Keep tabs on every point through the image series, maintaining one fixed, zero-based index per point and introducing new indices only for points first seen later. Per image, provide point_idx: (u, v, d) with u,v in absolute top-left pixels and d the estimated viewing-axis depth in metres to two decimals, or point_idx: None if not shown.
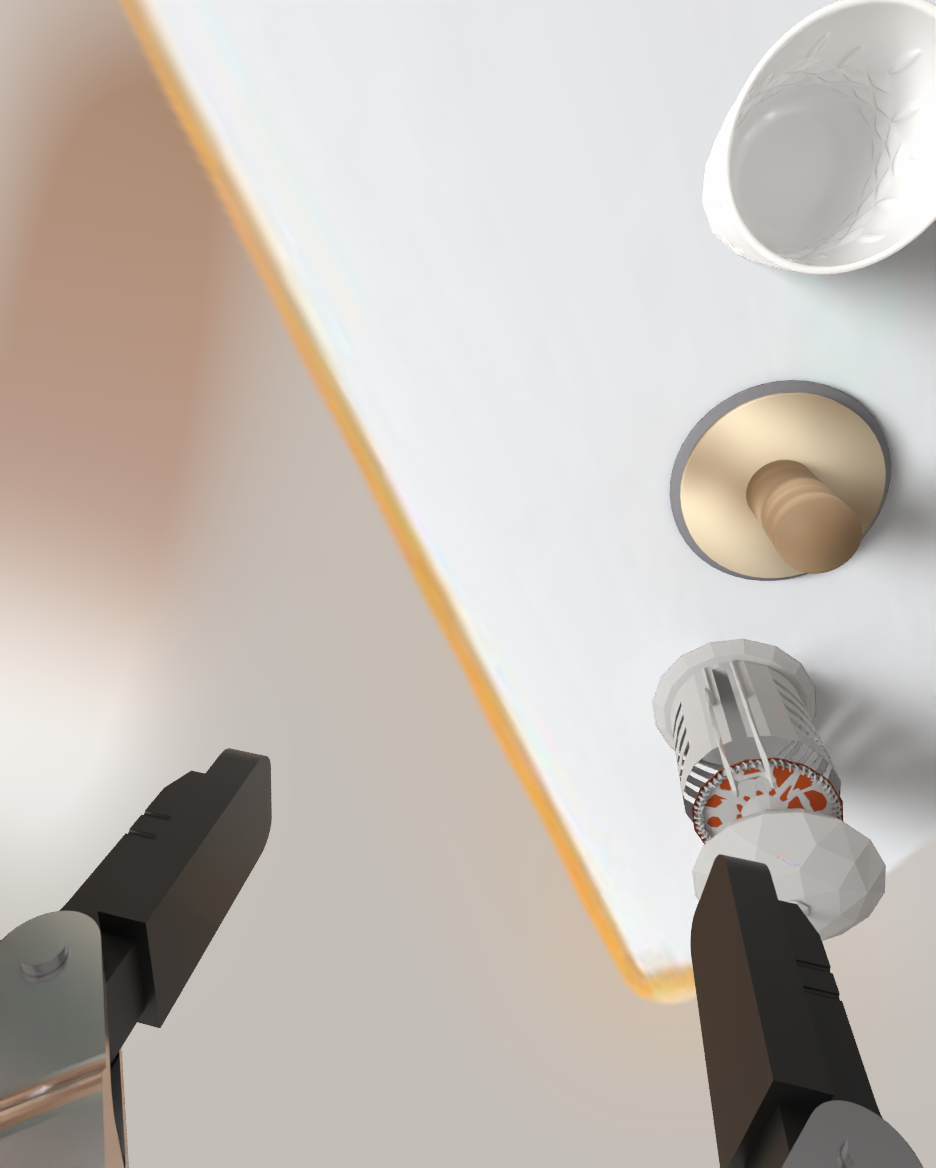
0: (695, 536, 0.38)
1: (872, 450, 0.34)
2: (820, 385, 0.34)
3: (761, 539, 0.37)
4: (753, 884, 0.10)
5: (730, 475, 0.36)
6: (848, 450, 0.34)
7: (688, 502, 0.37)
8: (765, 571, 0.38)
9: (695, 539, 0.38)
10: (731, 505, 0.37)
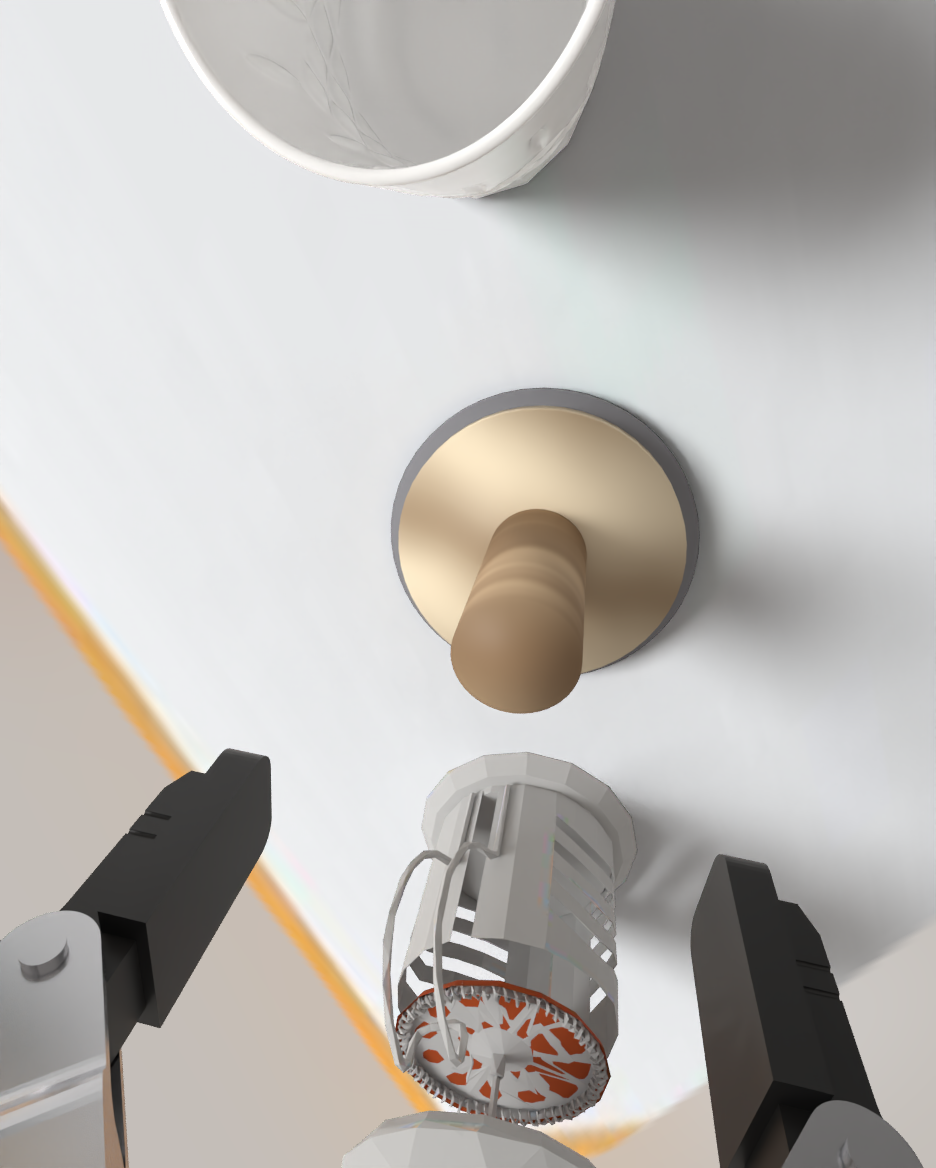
0: (429, 617, 0.26)
1: (662, 496, 0.22)
2: (581, 396, 0.22)
3: None
4: (753, 884, 0.10)
5: (463, 531, 0.24)
6: (627, 496, 0.22)
7: (410, 568, 0.25)
8: None
9: (429, 621, 0.26)
10: (471, 574, 0.24)
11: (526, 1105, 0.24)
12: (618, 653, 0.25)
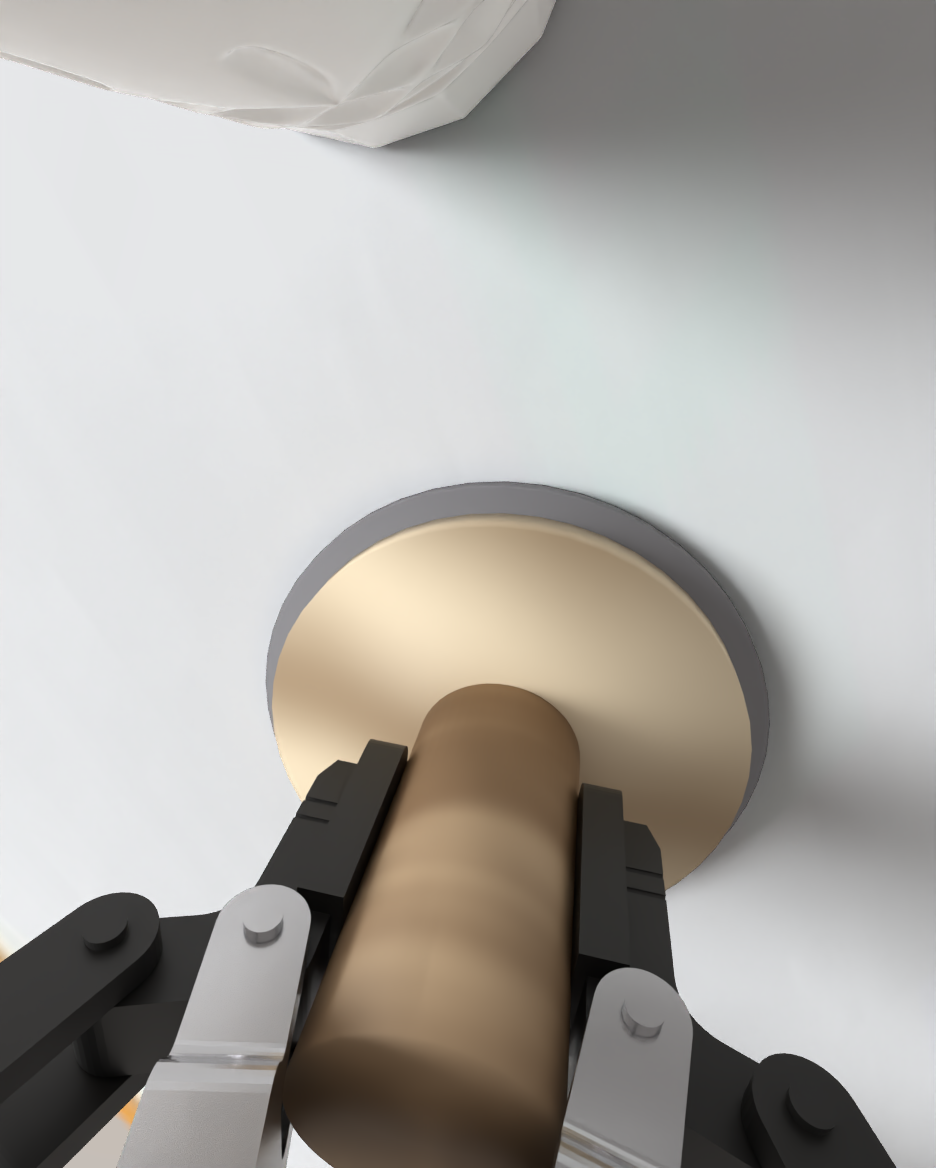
0: None
1: (711, 675, 0.13)
2: (569, 499, 0.13)
3: None
4: (604, 805, 0.12)
5: (375, 710, 0.14)
6: (649, 671, 0.13)
7: (295, 760, 0.15)
8: None
9: None
10: None
11: None
12: None
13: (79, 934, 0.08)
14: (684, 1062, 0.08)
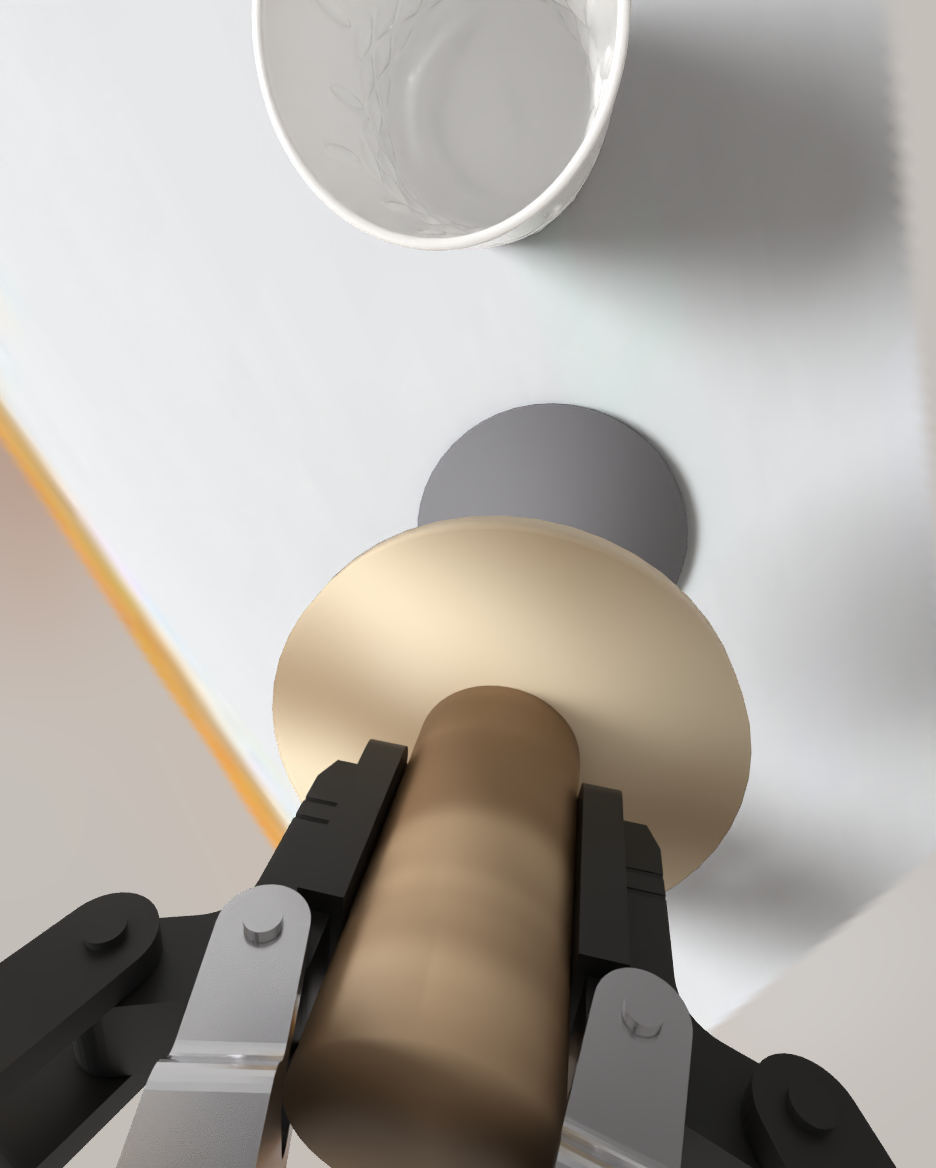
0: None
1: (711, 677, 0.13)
2: (585, 410, 0.26)
3: None
4: (604, 805, 0.12)
5: (375, 712, 0.14)
6: (649, 673, 0.13)
7: (296, 761, 0.15)
8: None
9: None
10: None
11: None
12: None
13: (79, 934, 0.08)
14: (684, 1062, 0.08)
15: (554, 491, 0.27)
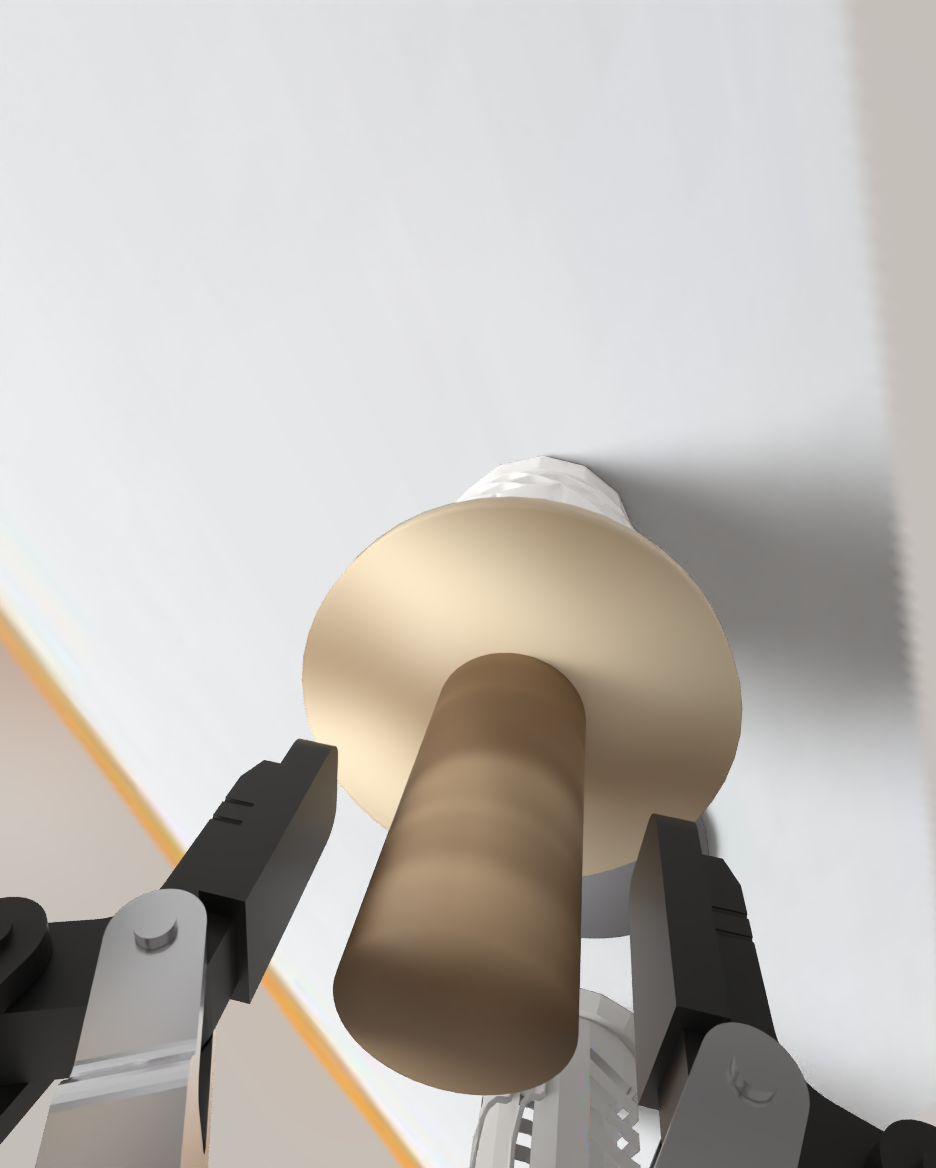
0: (355, 794, 0.17)
1: (703, 639, 0.14)
2: None
3: None
4: (680, 839, 0.11)
5: (397, 681, 0.16)
6: (647, 637, 0.14)
7: (323, 729, 0.17)
8: None
9: (357, 800, 0.17)
10: (413, 740, 0.16)
11: None
12: (636, 853, 0.17)
13: None
14: (796, 1137, 0.07)
15: None
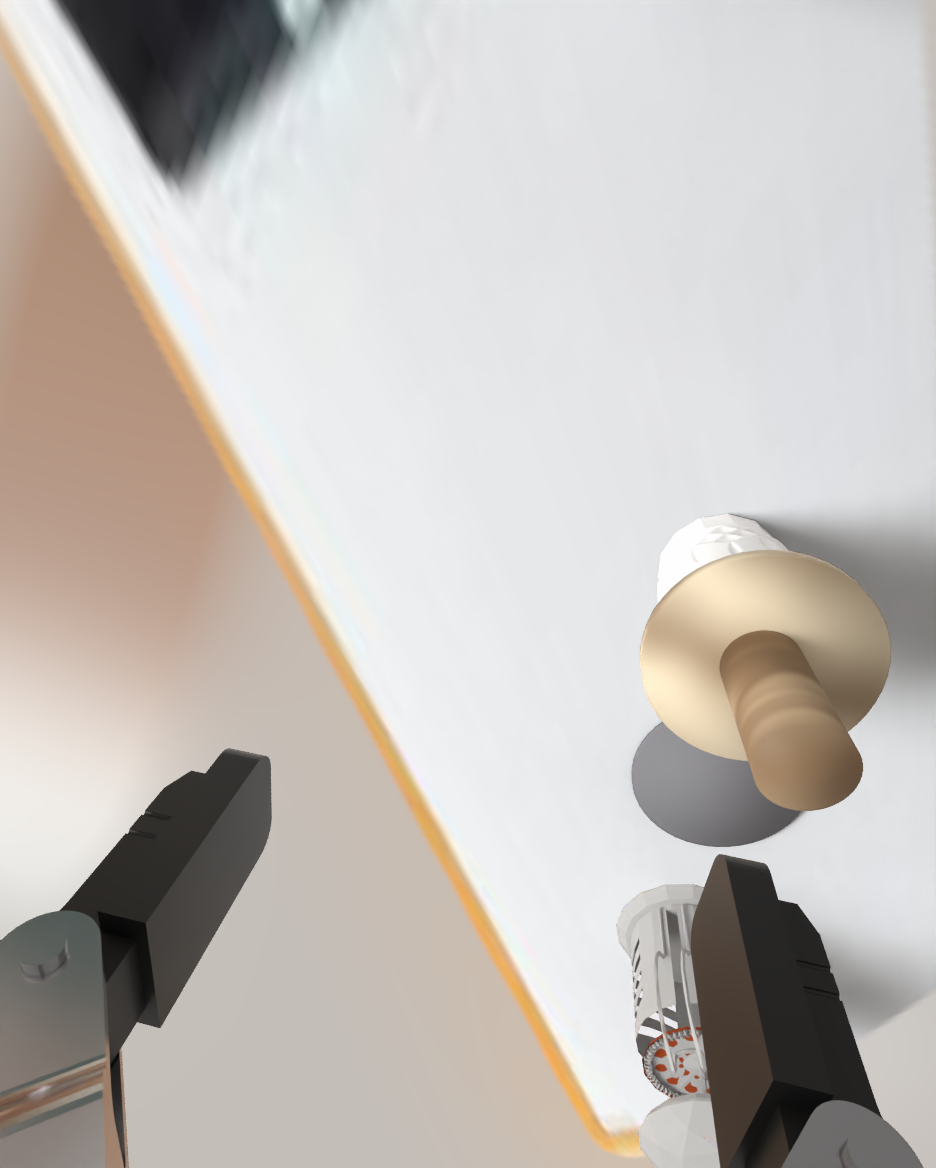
0: (658, 710, 0.31)
1: (874, 625, 0.28)
2: None
3: None
4: (753, 884, 0.10)
5: (700, 644, 0.29)
6: (845, 624, 0.28)
7: (649, 671, 0.30)
8: (743, 753, 0.31)
9: (658, 713, 0.31)
10: (701, 678, 0.30)
11: None
12: None
13: None
14: None
15: None
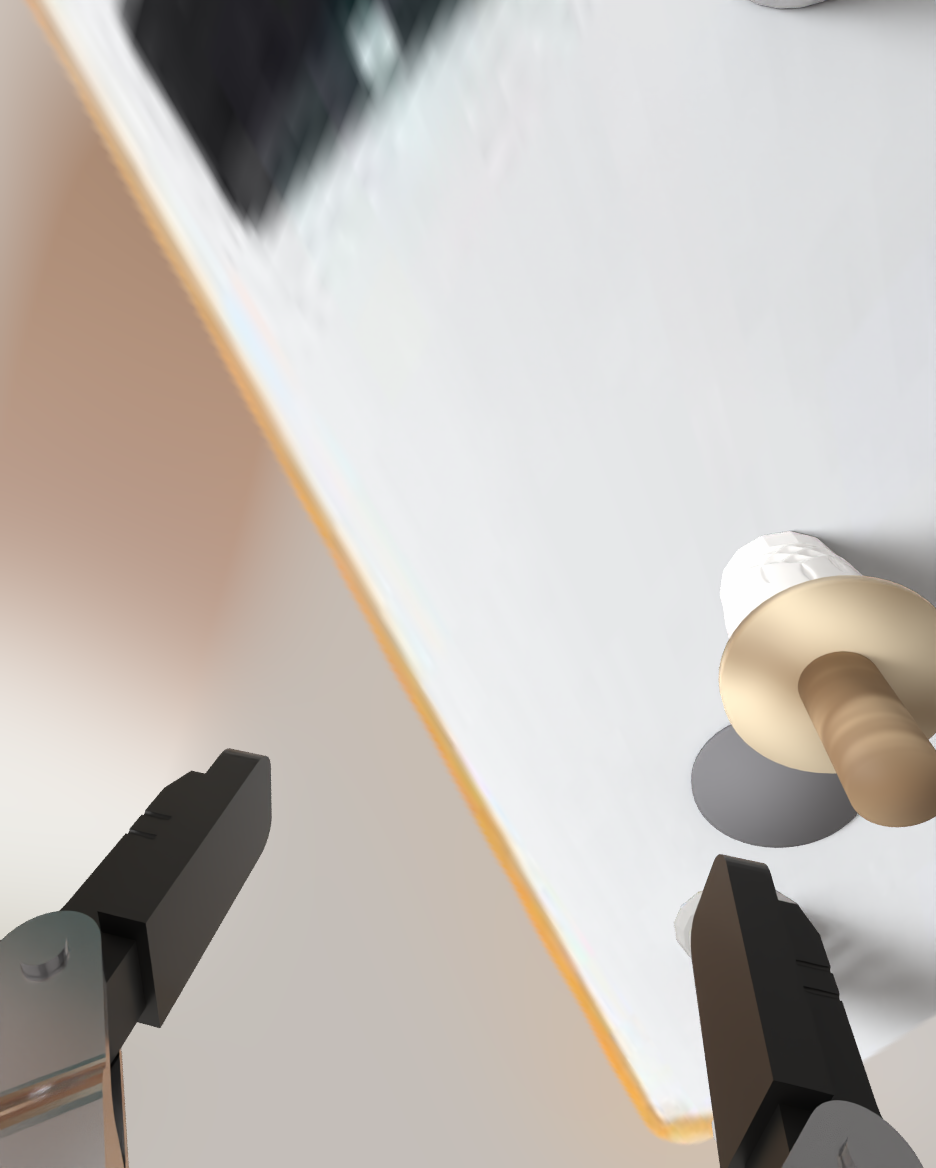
0: (737, 727, 0.32)
1: None
2: None
3: (814, 733, 0.32)
4: (753, 884, 0.10)
5: (779, 665, 0.31)
6: (921, 644, 0.29)
7: (729, 691, 0.32)
8: (818, 766, 0.32)
9: (737, 729, 0.32)
10: (780, 696, 0.31)
11: None
12: None
13: None
14: None
15: None
